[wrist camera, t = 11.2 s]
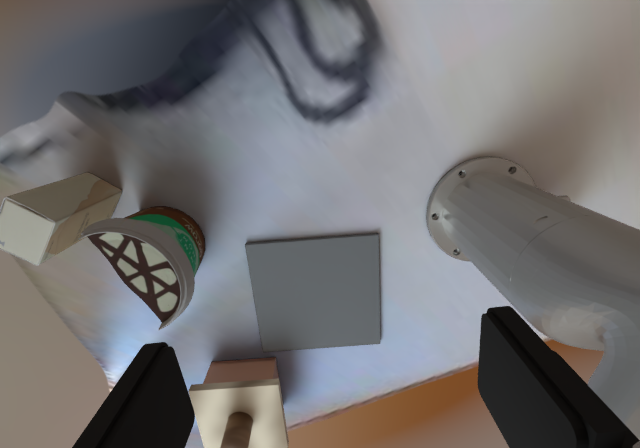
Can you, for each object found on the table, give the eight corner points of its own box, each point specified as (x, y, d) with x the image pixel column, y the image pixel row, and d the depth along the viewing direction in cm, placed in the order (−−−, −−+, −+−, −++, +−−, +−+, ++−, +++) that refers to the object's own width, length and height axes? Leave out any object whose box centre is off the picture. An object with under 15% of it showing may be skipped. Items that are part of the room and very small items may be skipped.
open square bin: (275, 357, 47) (271, 385, 43) (283, 405, 51) (279, 436, 46) (211, 361, 48) (200, 390, 43) (222, 409, 51) (213, 441, 46)
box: (108, 225, 40) (36, 270, 30) (71, 207, 39) (-15, 246, 29) (124, 188, 39) (55, 222, 28) (87, 168, 38) (1, 195, 27)
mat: (377, 233, 41) (378, 235, 41) (379, 340, 47) (380, 343, 46) (245, 243, 41) (244, 245, 41) (263, 349, 47) (262, 352, 46)
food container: (235, 261, 42) (213, 308, 33) (195, 282, 43) (162, 334, 34) (174, 175, 38) (128, 201, 29) (130, 201, 39) (73, 234, 30)
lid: (279, 378, 42) (274, 413, 38) (288, 441, 46) (285, 480, 42) (191, 384, 42) (176, 420, 38) (208, 446, 46) (196, 486, 42)
